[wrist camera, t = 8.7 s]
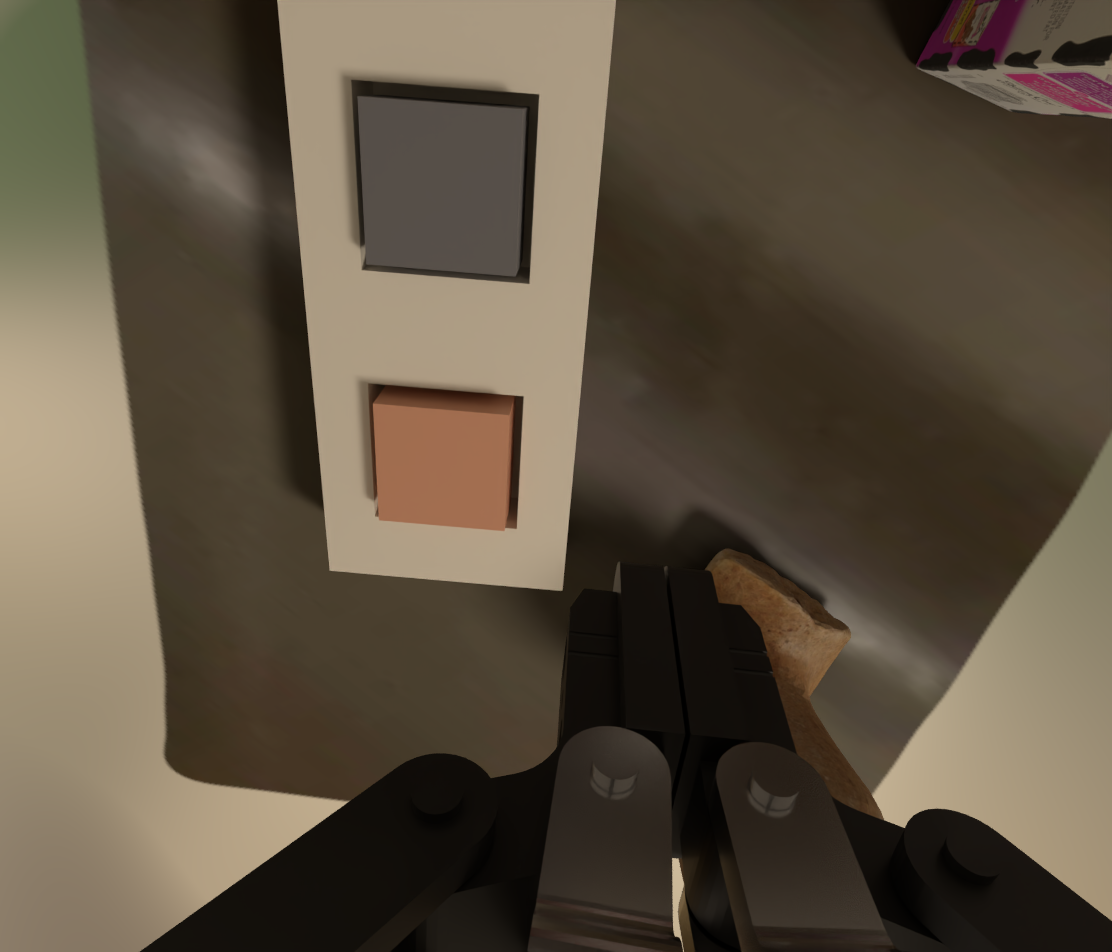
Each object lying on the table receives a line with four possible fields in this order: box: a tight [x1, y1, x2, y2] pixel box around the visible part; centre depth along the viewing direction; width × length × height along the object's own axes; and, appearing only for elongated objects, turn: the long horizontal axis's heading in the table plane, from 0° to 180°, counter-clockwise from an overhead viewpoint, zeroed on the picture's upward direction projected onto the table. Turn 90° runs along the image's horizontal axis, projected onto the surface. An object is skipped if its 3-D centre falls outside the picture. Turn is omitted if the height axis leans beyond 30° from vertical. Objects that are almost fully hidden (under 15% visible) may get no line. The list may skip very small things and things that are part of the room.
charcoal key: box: [357, 95, 530, 277], centre depth 30 cm, size 6×6×3 cm
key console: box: [277, 0, 616, 591], centre depth 34 cm, size 26×12×4 cm, turn 176°
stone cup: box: [679, 548, 884, 884], centre depth 38 cm, size 15×12×15 cm
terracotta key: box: [373, 385, 516, 531], centre depth 35 cm, size 6×6×3 cm
